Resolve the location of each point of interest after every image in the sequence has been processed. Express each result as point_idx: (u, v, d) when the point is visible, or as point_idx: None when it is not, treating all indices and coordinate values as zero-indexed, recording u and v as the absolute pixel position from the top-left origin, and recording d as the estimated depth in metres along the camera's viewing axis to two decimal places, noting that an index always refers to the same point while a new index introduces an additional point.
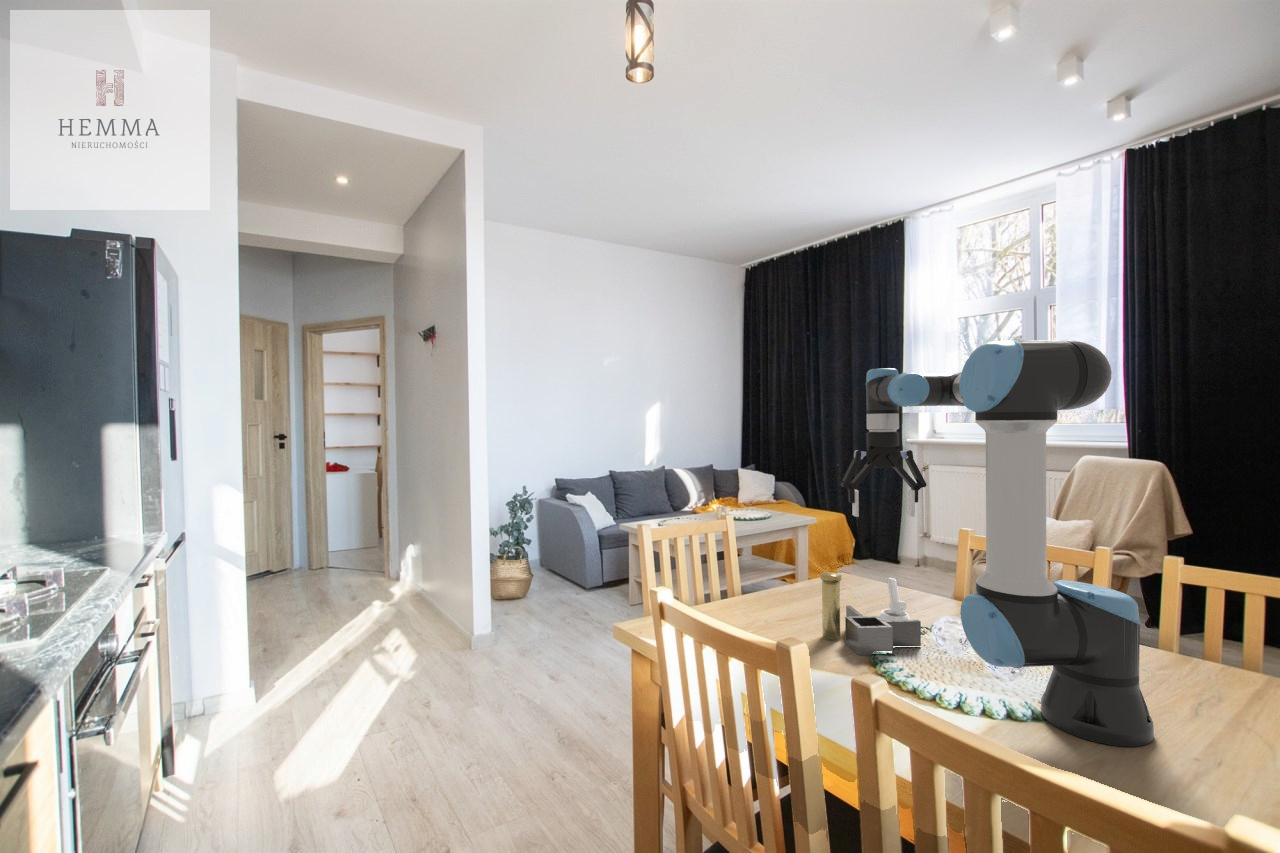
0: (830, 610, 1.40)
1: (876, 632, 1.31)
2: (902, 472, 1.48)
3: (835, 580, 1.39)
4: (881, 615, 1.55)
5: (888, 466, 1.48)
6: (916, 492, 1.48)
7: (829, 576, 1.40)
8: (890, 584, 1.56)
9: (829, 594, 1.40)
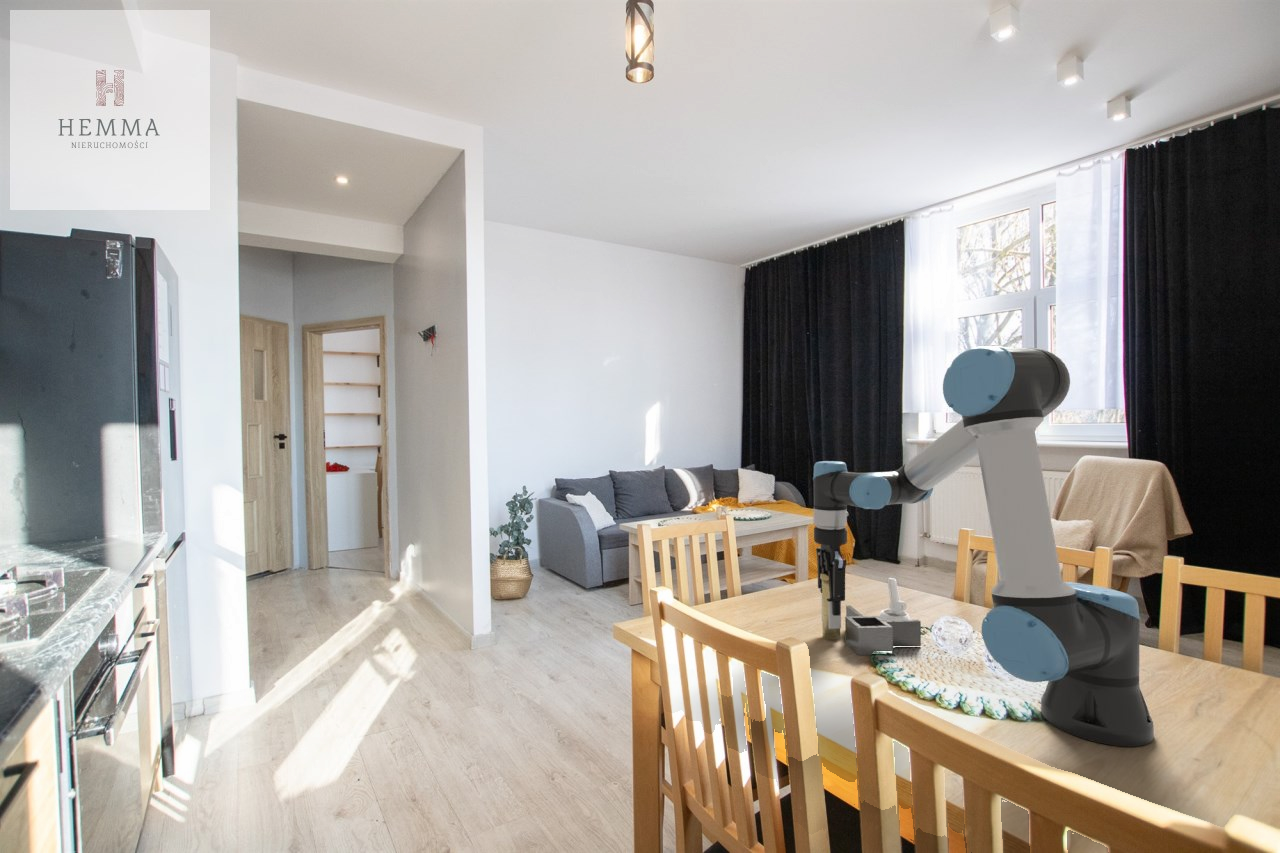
0: None
1: (876, 632, 1.31)
2: (828, 576, 1.40)
3: None
4: (881, 615, 1.55)
5: None
6: (833, 604, 1.38)
7: None
8: (890, 584, 1.56)
9: (829, 594, 1.40)
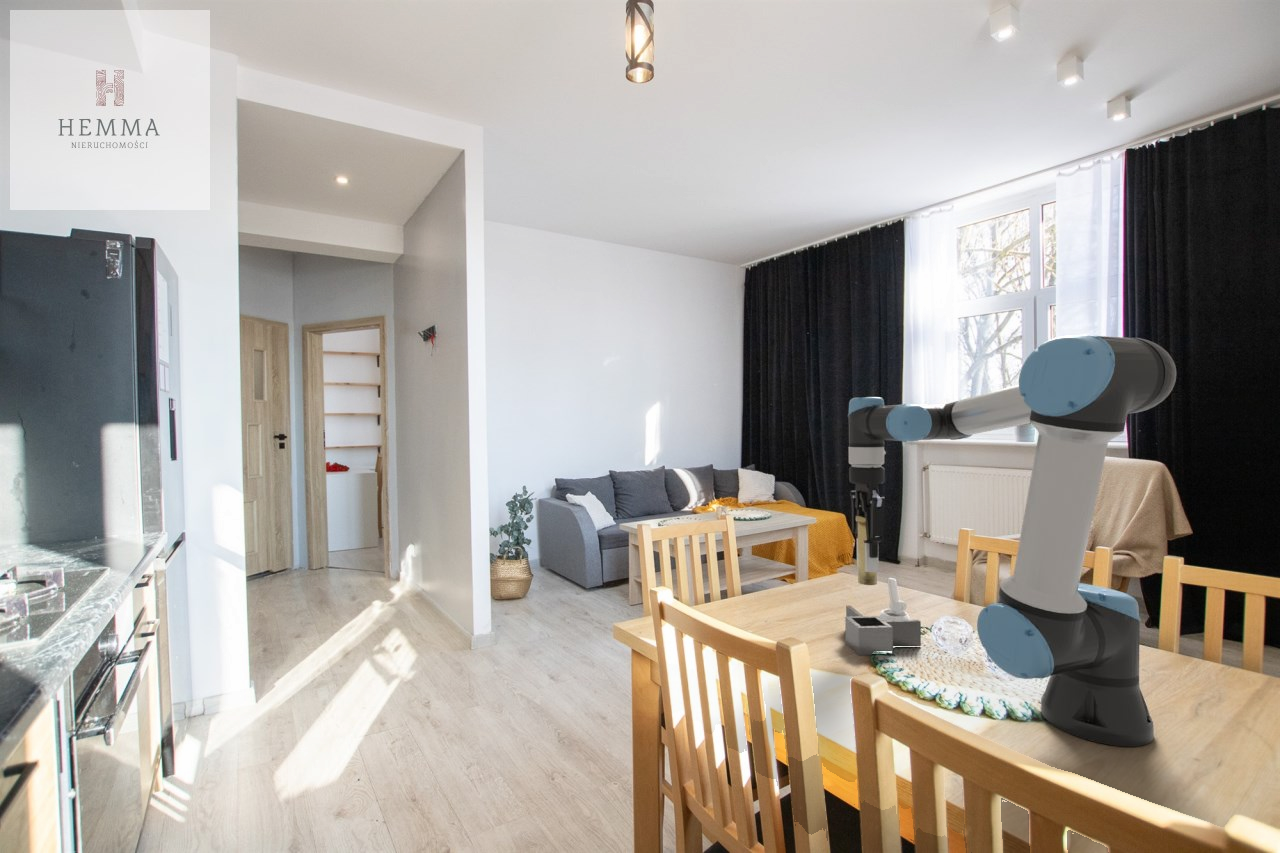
0: None
1: (876, 632, 1.31)
2: (865, 517, 1.33)
3: None
4: (881, 615, 1.55)
5: None
6: (870, 546, 1.32)
7: None
8: (890, 584, 1.56)
9: (865, 537, 1.33)
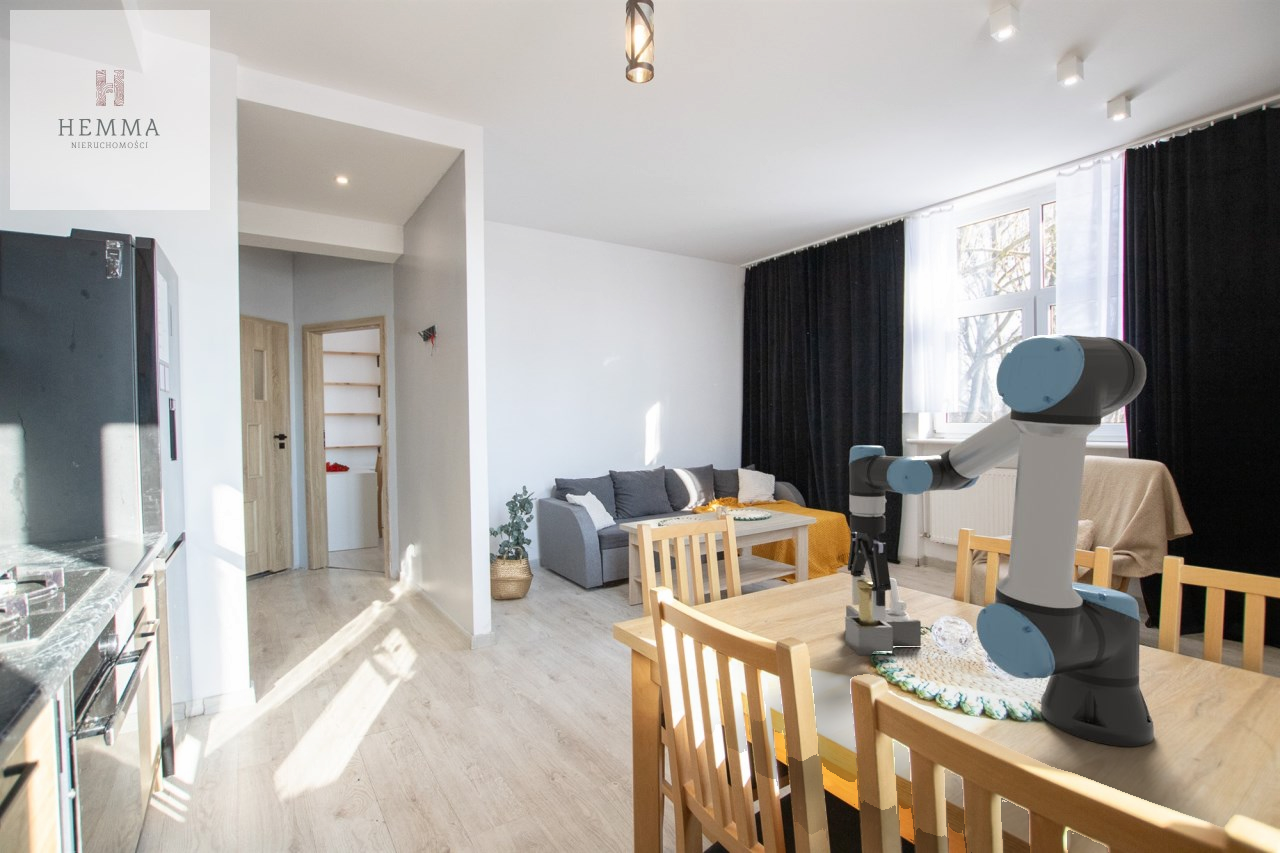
0: (867, 619, 1.33)
1: (876, 632, 1.31)
2: (869, 565, 1.31)
3: None
4: None
5: None
6: (877, 594, 1.28)
7: (867, 584, 1.34)
8: None
9: (866, 603, 1.33)
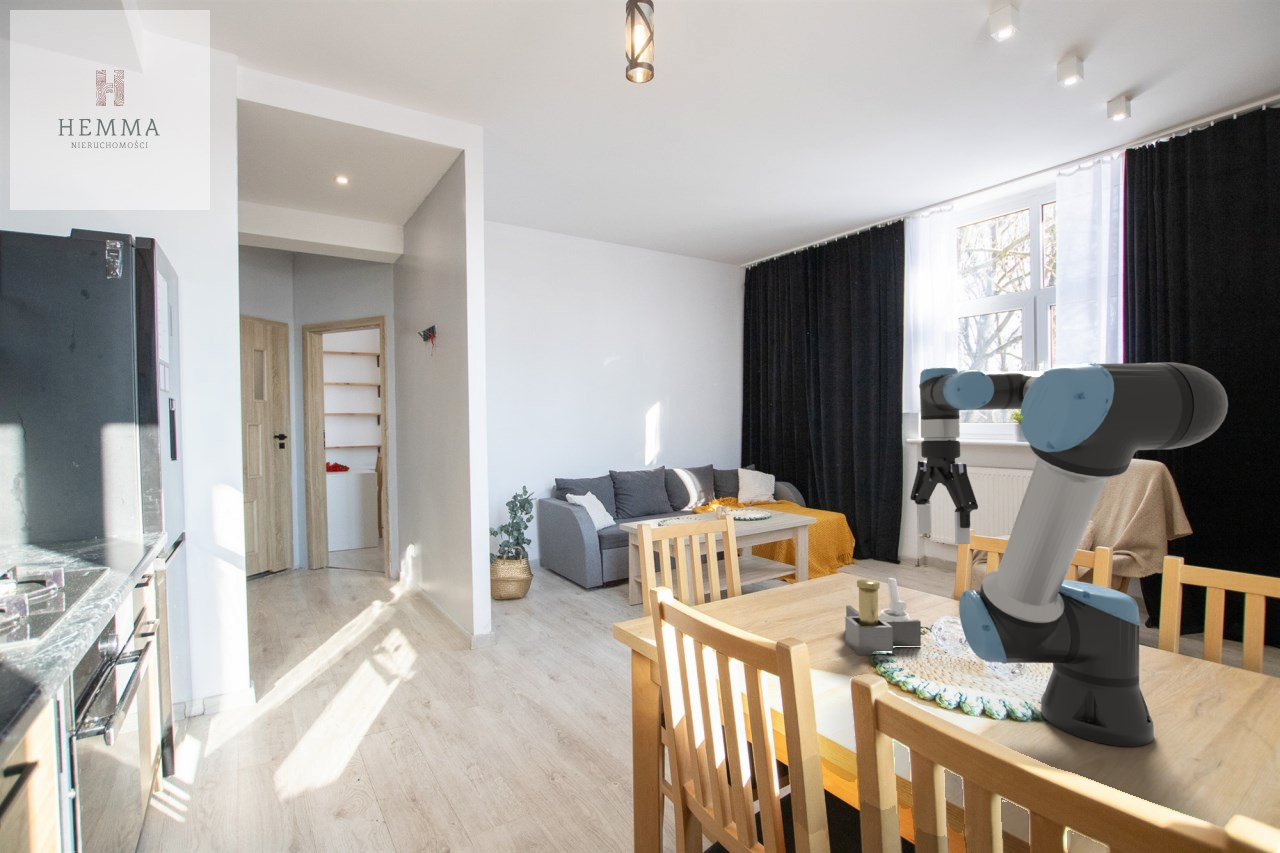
0: (867, 619, 1.33)
1: (876, 632, 1.31)
2: (948, 489, 1.24)
3: (873, 588, 1.33)
4: (881, 615, 1.55)
5: (939, 480, 1.28)
6: (962, 515, 1.21)
7: (867, 584, 1.34)
8: (890, 584, 1.56)
9: (866, 603, 1.33)
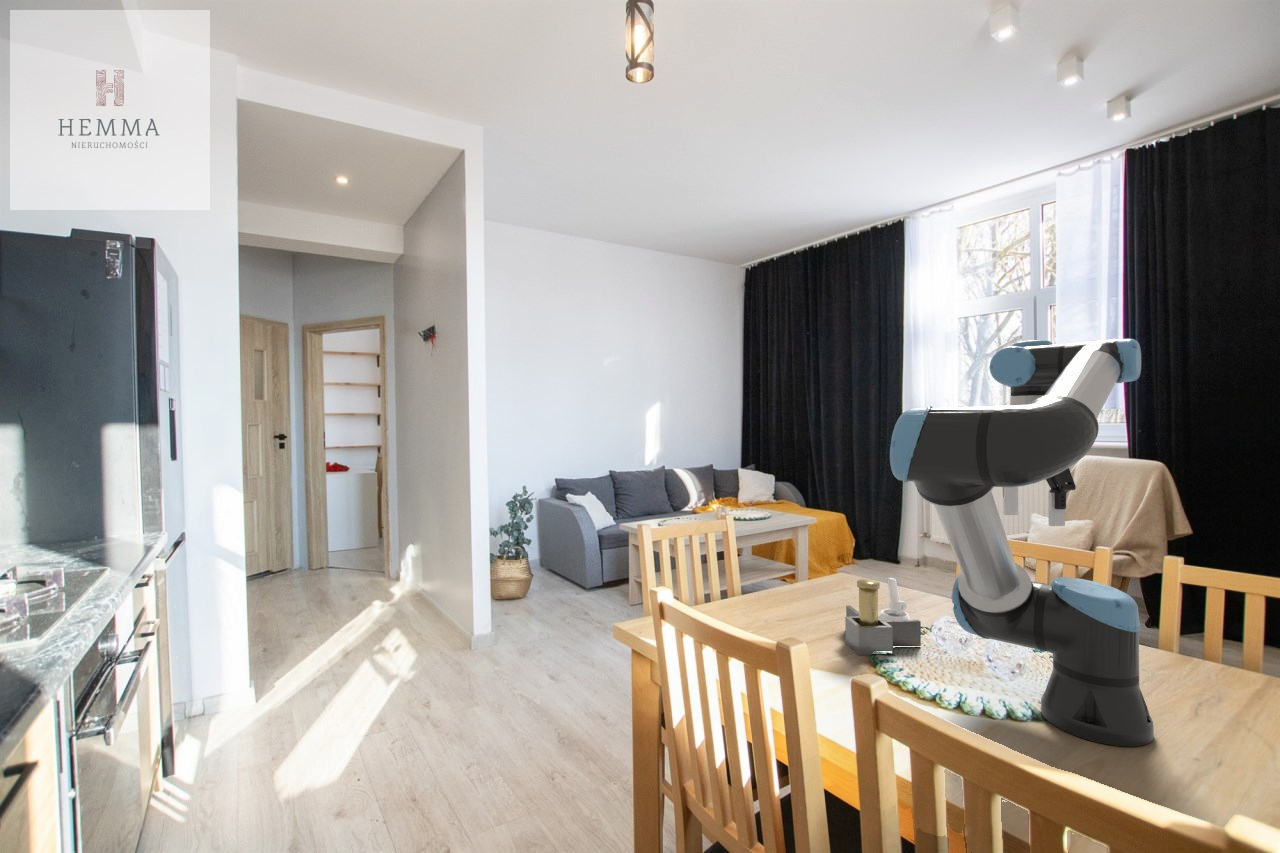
0: (867, 619, 1.33)
1: (876, 632, 1.31)
2: None
3: (873, 588, 1.33)
4: (881, 615, 1.55)
5: None
6: (1057, 496, 1.15)
7: (867, 584, 1.34)
8: (890, 584, 1.56)
9: (866, 603, 1.33)
